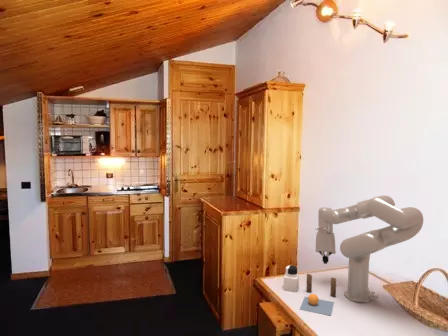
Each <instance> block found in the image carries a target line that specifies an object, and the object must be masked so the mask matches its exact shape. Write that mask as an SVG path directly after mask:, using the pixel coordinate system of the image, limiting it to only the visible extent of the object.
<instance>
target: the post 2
mask: <svg viewBox="0 0 448 336" xmlns="http://www.w3.org/2000/svg"><path fill="white" fill-rule="evenodd" d="M329 295H330V297H331V298H337V278H335V277H331V278H330V294H329Z"/></svg>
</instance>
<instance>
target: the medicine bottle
mask: <svg viewBox="0 0 448 336" xmlns="http://www.w3.org/2000/svg"><path fill="white" fill-rule="evenodd" d="M299 277H300V275H299V273H298V267H297V266H295V265H287V266H286V267H285V273H284V276H283V291H287V292H294V293H295V292H296V293H297V292H298V290H299V283H300V282H299V280H300V278H299Z"/></svg>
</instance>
